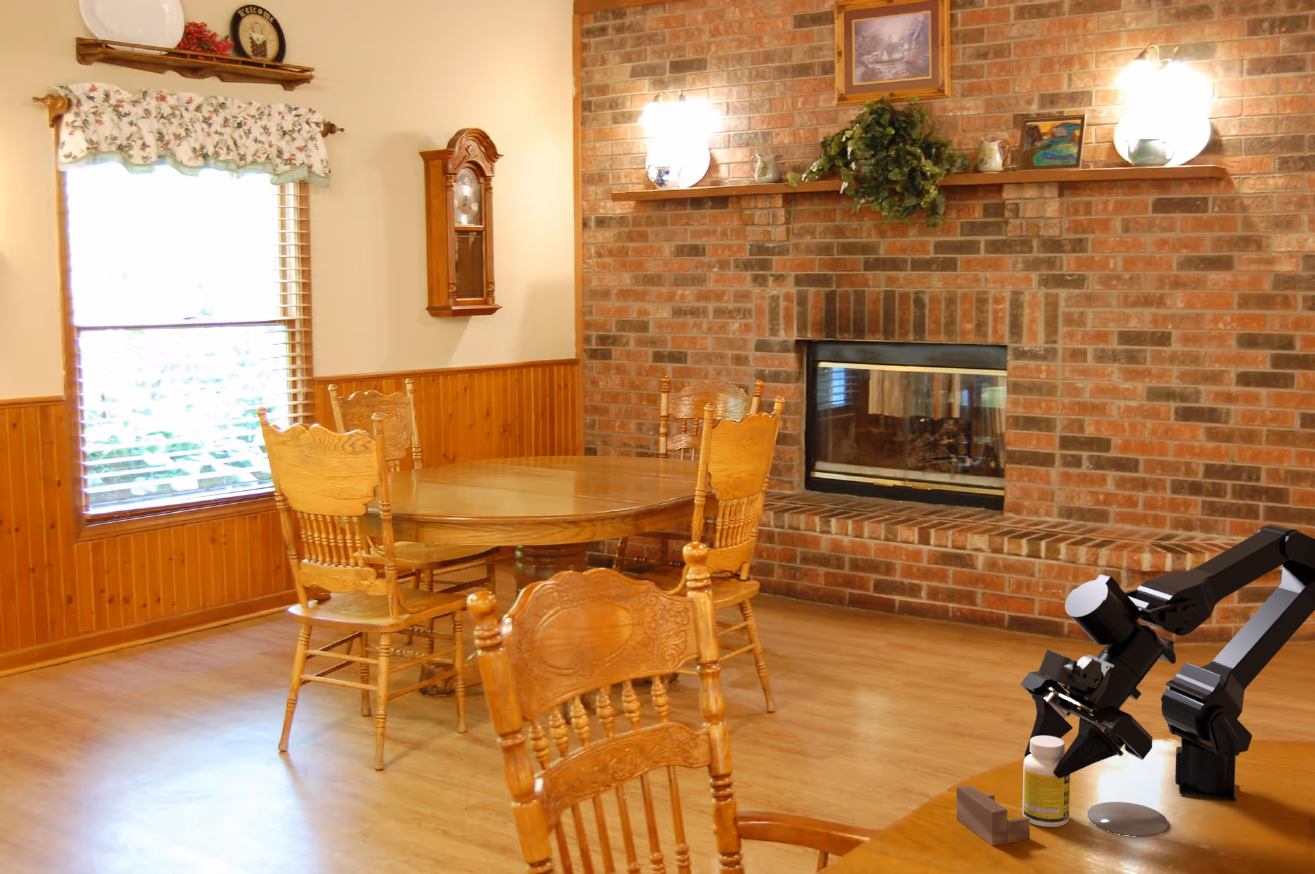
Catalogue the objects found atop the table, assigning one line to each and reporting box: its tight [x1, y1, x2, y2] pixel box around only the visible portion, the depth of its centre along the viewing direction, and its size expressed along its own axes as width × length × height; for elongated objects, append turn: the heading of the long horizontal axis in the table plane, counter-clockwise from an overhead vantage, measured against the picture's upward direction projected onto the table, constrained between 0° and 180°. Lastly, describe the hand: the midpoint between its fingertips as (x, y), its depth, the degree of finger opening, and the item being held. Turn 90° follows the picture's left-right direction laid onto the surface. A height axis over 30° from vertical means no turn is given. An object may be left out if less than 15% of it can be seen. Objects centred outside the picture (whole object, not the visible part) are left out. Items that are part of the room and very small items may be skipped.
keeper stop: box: [956, 785, 1031, 846], centre depth 147 cm, size 5×8×4 cm, turn 18°
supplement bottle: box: [1022, 736, 1071, 828], centre depth 149 cm, size 5×5×10 cm
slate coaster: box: [1087, 801, 1168, 838], centre depth 149 cm, size 9×9×1 cm
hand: (1041, 767), depth 149 cm, fingers closed on supplement bottle, 5 cm apart
